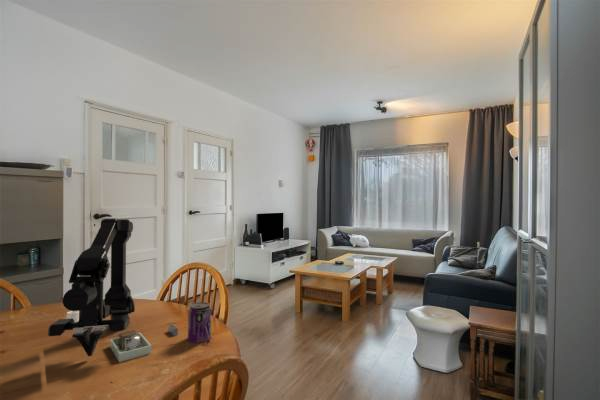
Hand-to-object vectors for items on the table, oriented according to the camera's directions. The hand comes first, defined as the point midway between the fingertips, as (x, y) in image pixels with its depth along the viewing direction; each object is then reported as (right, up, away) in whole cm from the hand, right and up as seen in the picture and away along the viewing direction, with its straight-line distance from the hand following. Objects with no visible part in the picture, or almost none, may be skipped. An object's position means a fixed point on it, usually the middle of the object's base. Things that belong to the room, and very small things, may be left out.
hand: (90, 355), depth 90 cm
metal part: (+9, -1, +5) cm, 11 cm away
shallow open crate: (+8, -3, +6) cm, 10 cm away
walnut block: (+6, -1, +9) cm, 11 cm away
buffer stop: (+16, -3, +19) cm, 25 cm away
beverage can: (+26, -3, +15) cm, 30 cm away
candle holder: (-28, -4, +33) cm, 43 cm away
